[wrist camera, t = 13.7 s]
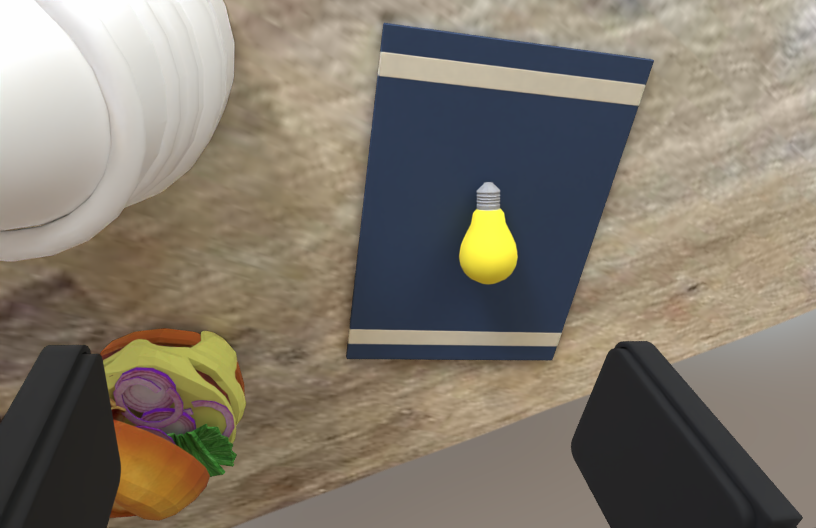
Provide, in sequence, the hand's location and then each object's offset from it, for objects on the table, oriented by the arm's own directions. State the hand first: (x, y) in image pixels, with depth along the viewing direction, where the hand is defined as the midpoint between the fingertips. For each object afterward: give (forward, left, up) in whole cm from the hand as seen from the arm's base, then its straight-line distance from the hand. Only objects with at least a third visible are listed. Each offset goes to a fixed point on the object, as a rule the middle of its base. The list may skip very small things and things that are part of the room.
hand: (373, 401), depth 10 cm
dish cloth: (+6, +10, -22) cm, 25 cm away
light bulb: (+6, +10, -22) cm, 25 cm away
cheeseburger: (+19, -9, -22) cm, 31 cm away
